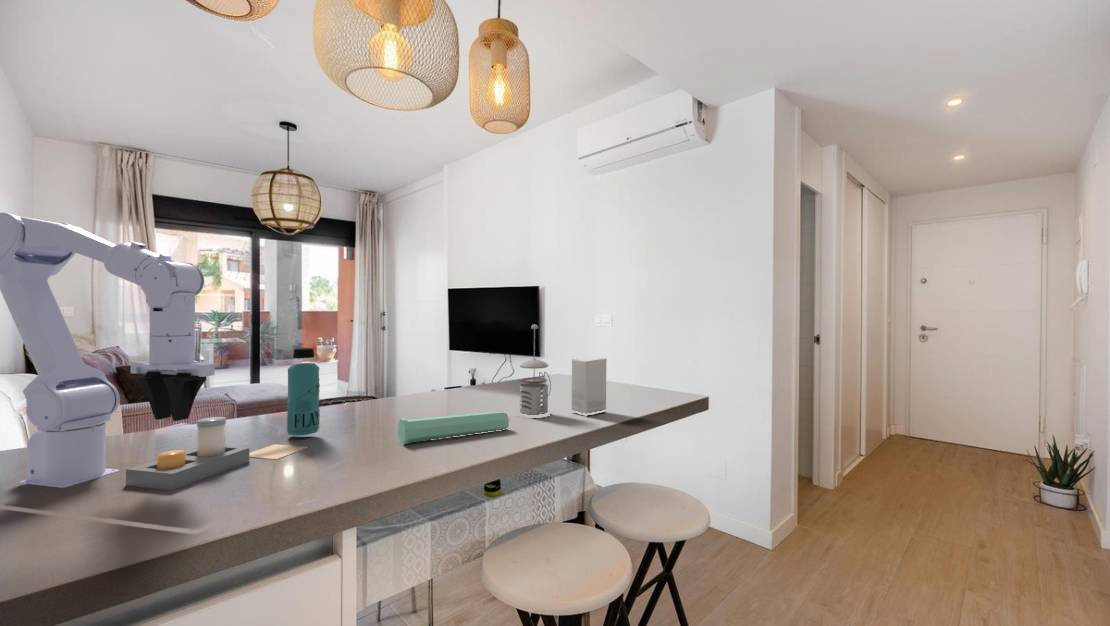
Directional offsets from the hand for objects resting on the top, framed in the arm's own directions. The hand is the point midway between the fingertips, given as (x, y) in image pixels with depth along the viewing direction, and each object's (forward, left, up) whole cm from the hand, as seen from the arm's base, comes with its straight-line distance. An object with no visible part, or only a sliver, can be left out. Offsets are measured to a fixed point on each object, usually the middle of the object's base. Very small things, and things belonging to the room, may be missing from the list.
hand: (171, 418), depth 76 cm
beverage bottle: (+1, +28, -11) cm, 30 cm away
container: (+33, +38, -11) cm, 51 cm away
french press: (+45, +62, -11) cm, 78 cm away
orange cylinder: (0, 0, -9) cm, 9 cm away
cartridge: (0, +7, -10) cm, 12 cm away
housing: (0, +4, -10) cm, 11 cm away
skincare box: (+59, +68, -11) cm, 91 cm away
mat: (+4, +16, -10) cm, 20 cm away
